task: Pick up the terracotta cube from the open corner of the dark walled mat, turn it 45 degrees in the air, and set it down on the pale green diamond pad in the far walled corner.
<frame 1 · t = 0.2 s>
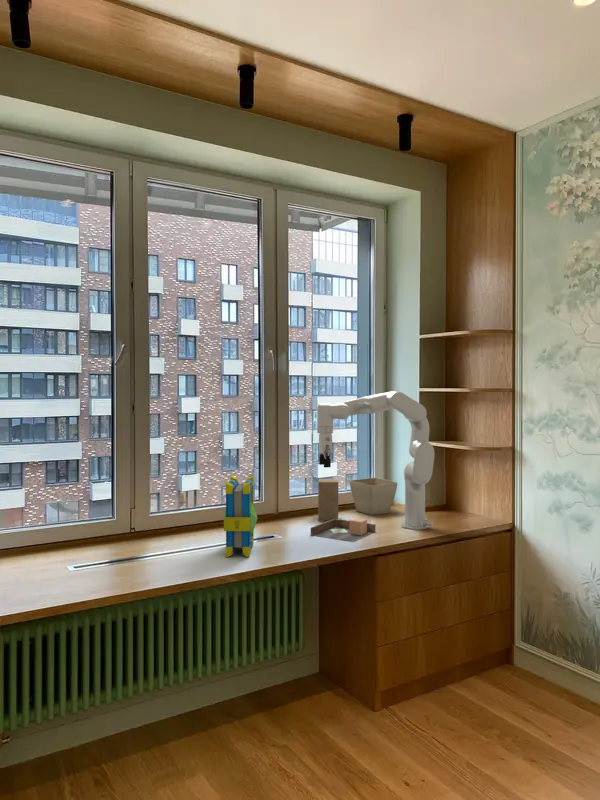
hand: (324, 465, 291), 31 cm above the table, tool pointing down, fingers open, 9 cm apart
decorative book: (240, 551, 256), on the table
cube: (358, 532, 284), resting on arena
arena: (343, 534, 283), on the table
flower pot: (373, 512, 332), on the table
wooden block: (328, 519, 315), on the table
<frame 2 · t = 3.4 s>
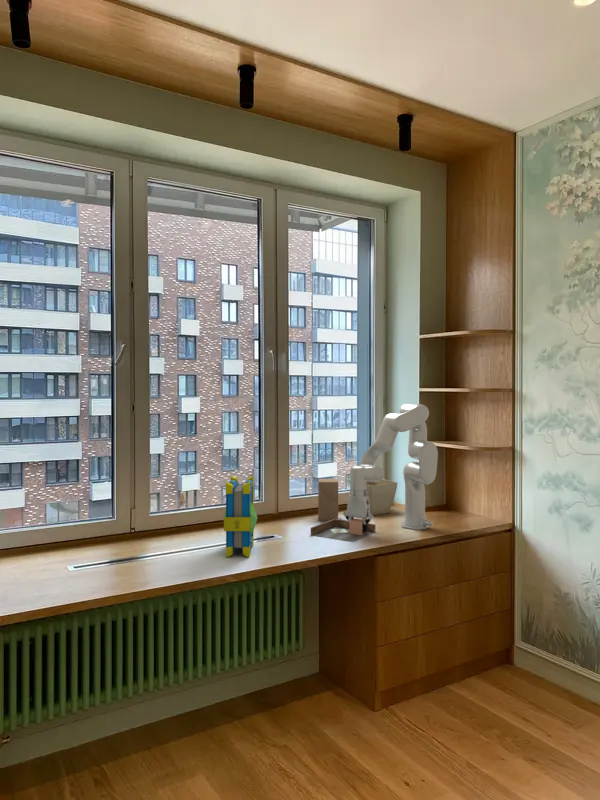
hand: (358, 531, 284), 1 cm above the table, tool pointing down, fingers closed on cube, 6 cm apart
cube: (358, 532, 284), resting on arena, touching gripper
everything else where it was.
when the fingers open (2 cm above the table, at t = 9.2 s): cube stays where it is, resting on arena.
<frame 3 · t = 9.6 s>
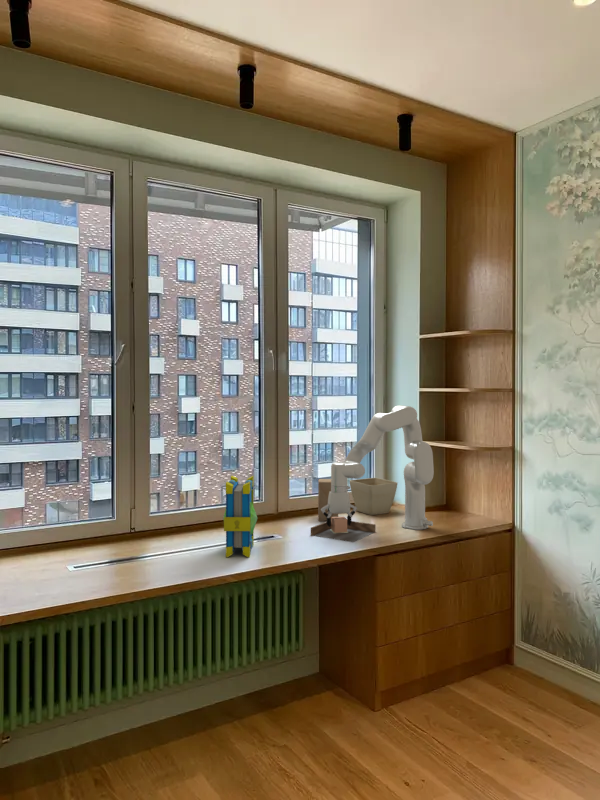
hand: (339, 525, 288), 3 cm above the table, tool pointing down, fingers open, 9 cm apart
cube: (339, 530, 288), point 1 cm above the table, touching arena
everything else where it was.
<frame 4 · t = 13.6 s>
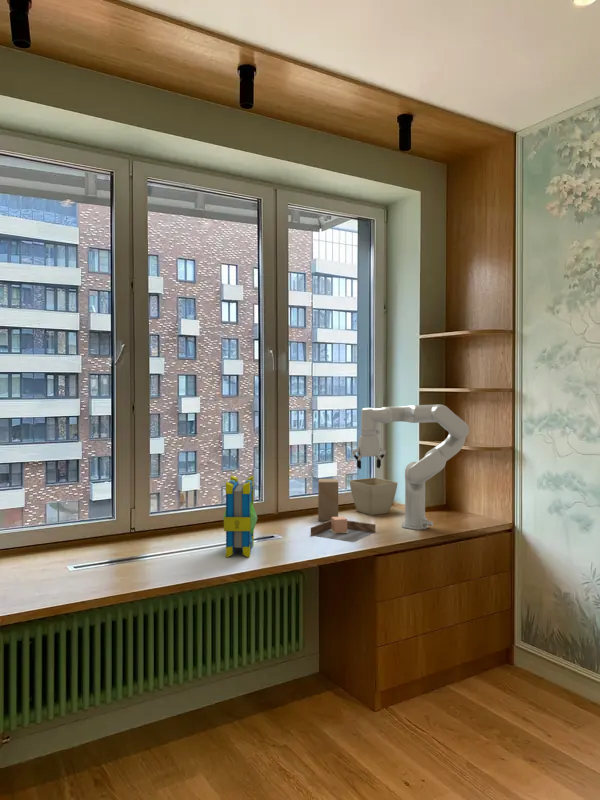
hand: (368, 468, 300), 28 cm above the table, tool pointing down, fingers open, 9 cm apart
nothing on the table moved.
at the end: cube 0.1 cm from the target spot on the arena, point 0.6 cm above the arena's base; cube tilted 0°; the gripper is holding nothing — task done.
